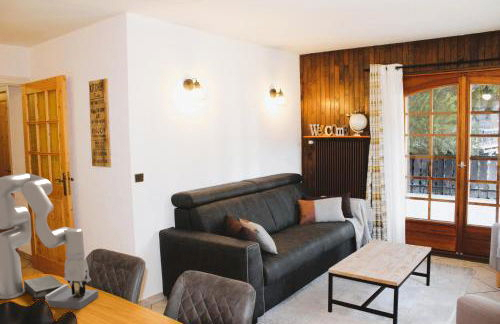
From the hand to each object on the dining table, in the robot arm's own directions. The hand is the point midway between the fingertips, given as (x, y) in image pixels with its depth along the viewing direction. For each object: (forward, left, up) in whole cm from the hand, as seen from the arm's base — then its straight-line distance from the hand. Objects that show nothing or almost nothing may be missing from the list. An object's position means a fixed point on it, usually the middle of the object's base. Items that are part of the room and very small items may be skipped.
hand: (78, 293), depth 199 cm
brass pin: (0, 0, -2) cm, 2 cm away
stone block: (-25, +7, -4) cm, 27 cm away
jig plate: (-4, 0, -4) cm, 5 cm away
